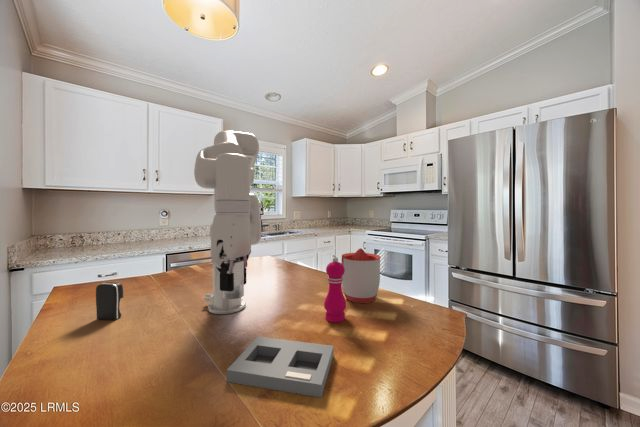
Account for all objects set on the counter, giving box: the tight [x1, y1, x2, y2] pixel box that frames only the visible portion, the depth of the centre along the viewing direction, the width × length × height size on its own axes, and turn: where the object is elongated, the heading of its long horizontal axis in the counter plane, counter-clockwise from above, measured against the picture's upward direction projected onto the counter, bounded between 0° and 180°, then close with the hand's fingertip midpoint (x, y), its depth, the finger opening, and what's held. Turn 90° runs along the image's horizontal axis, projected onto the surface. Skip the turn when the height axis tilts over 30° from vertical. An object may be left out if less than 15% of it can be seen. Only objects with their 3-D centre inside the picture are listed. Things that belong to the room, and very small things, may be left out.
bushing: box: [223, 260, 245, 299], centre depth 60 cm, size 5×5×8 cm
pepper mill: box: [323, 256, 347, 323], centre depth 83 cm, size 7×7×20 cm
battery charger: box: [95, 281, 124, 321], centre depth 83 cm, size 7×4×11 cm, turn 84°
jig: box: [226, 336, 335, 399], centre depth 57 cm, size 20×14×3 cm
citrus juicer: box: [341, 248, 382, 304], centre depth 101 cm, size 16×17×20 cm
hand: (233, 286), depth 60 cm, fingers closed on bushing, 4 cm apart
